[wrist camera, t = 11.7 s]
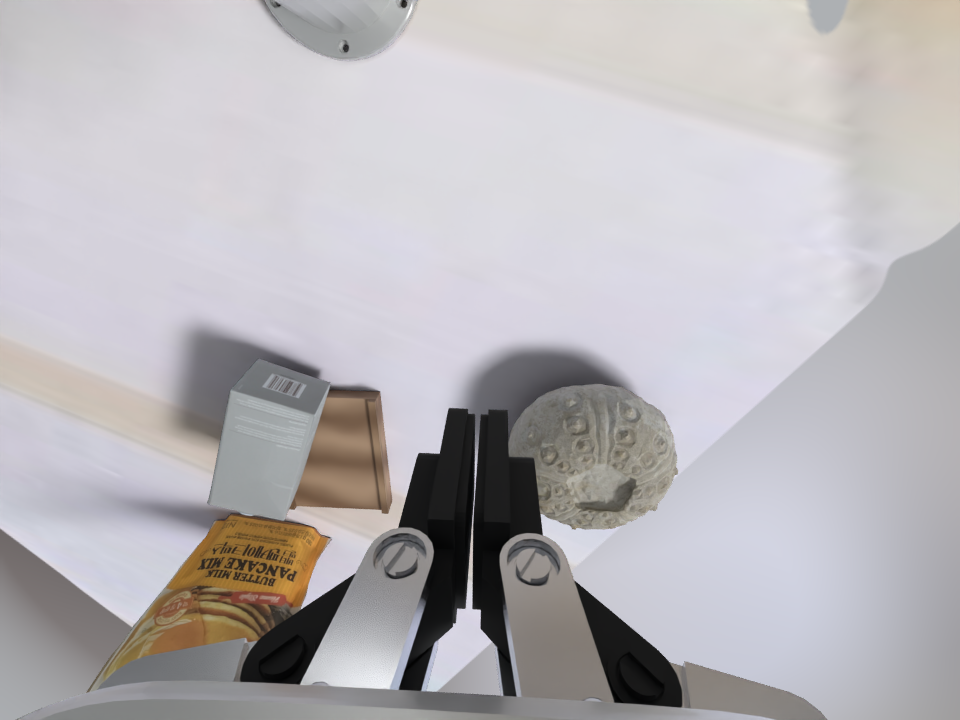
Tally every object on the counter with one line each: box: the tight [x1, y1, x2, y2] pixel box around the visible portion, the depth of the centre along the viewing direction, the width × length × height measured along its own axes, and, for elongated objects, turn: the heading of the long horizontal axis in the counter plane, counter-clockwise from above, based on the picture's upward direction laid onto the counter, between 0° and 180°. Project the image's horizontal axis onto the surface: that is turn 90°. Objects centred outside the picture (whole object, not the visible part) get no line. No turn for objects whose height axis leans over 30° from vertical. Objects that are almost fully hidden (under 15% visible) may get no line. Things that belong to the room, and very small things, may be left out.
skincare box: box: [207, 359, 331, 521], centre depth 45 cm, size 8×7×16 cm
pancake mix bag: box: [86, 514, 332, 693], centre depth 47 cm, size 7×19×28 cm, turn 80°
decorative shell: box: [508, 384, 678, 529], centre depth 45 cm, size 18×18×10 cm
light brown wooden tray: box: [289, 390, 392, 514], centre depth 51 cm, size 17×13×2 cm
